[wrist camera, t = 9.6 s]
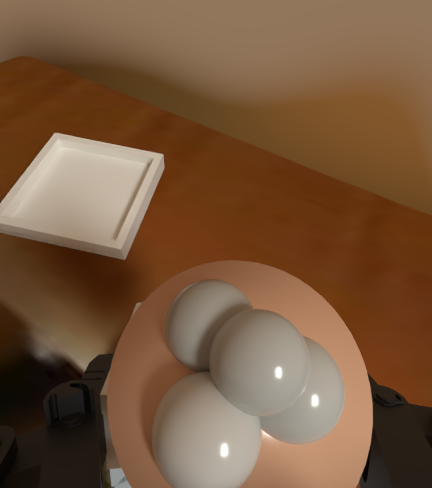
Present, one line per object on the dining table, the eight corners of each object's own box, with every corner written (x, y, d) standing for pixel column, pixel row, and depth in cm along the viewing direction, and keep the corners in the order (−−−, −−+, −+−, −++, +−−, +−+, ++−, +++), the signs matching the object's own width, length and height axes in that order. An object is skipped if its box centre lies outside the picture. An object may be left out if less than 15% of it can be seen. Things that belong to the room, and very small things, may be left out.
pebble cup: (135, 464, 14) (-5, 544, 4) (173, 332, 18) (147, 195, 7) (268, 497, 14) (478, 675, 4) (280, 356, 17) (406, 249, 7)
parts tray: (-2, 232, 37) (-13, 220, 35) (61, 146, 45) (54, 132, 43) (125, 260, 36) (121, 249, 34) (164, 167, 44) (163, 154, 42)
